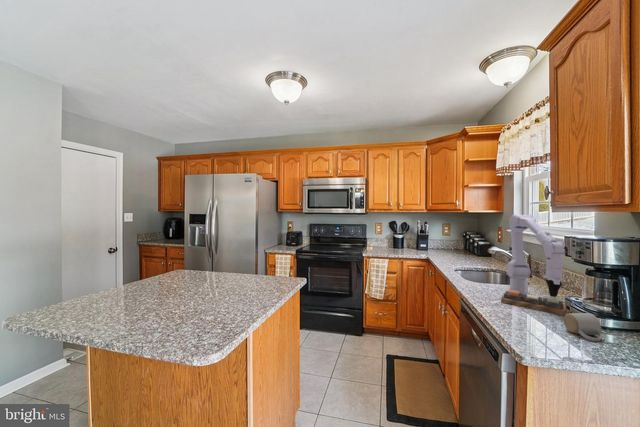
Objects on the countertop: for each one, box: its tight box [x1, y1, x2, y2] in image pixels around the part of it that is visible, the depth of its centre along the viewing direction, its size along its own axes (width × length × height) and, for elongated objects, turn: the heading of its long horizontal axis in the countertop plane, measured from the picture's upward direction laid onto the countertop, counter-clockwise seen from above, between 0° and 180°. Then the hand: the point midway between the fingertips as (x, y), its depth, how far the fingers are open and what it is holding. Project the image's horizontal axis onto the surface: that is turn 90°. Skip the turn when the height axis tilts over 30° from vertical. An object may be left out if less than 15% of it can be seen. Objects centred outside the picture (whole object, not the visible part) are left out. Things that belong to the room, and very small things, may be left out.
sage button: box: [546, 295, 560, 304], centre depth 126 cm, size 4×4×2 cm
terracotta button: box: [507, 288, 520, 296], centre depth 136 cm, size 4×4×2 cm
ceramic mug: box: [563, 312, 602, 342], centre depth 101 cm, size 11×8×8 cm
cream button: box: [527, 294, 540, 300], centre depth 131 cm, size 4×4×2 cm
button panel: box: [500, 290, 567, 317], centre depth 131 cm, size 24×12×4 cm, turn 49°
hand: (553, 296), depth 126 cm, fingers closed
